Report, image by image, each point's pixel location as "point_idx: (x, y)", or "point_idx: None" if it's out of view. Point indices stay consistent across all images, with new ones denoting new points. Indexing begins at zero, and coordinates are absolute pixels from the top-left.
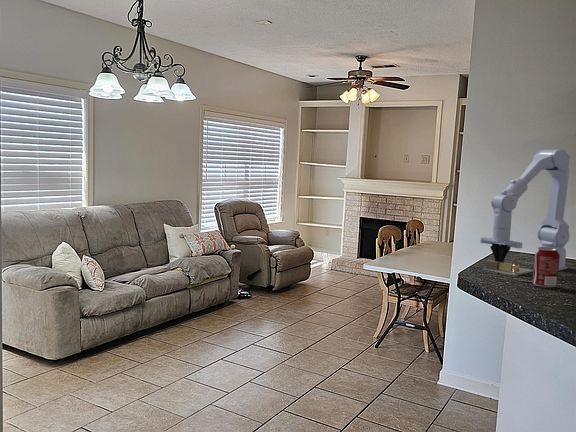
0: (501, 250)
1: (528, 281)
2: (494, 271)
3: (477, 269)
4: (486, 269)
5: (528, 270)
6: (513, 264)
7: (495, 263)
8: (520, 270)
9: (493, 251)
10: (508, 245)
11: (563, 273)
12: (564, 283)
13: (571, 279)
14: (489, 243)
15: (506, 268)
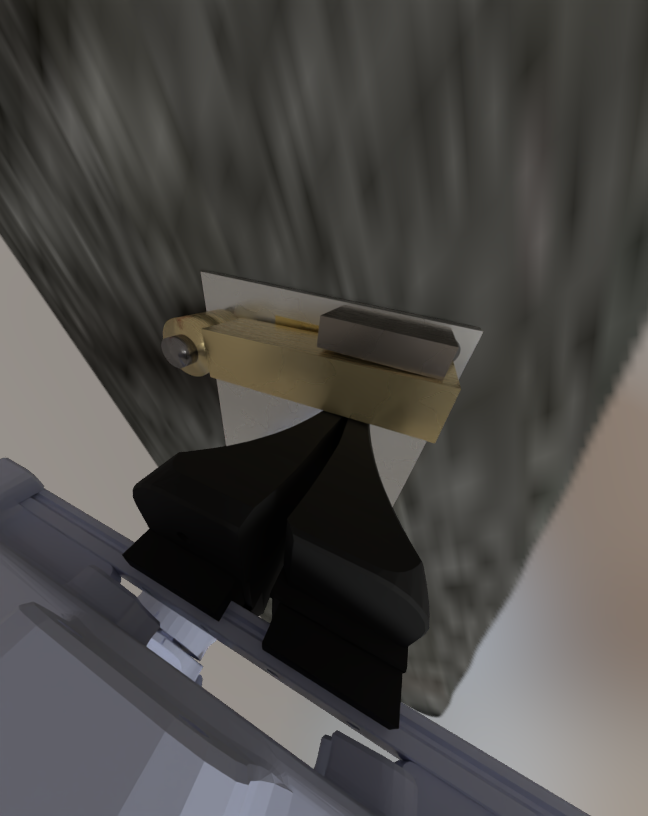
0: (221, 459)
1: (66, 99)
2: (364, 305)
3: (548, 294)
4: (442, 321)
5: (230, 442)
6: (191, 331)
7: (340, 319)
8: (248, 419)
9: (369, 495)
10: (114, 562)
11: None
12: (41, 273)
13: (106, 390)
14: (479, 767)
15: (265, 326)
